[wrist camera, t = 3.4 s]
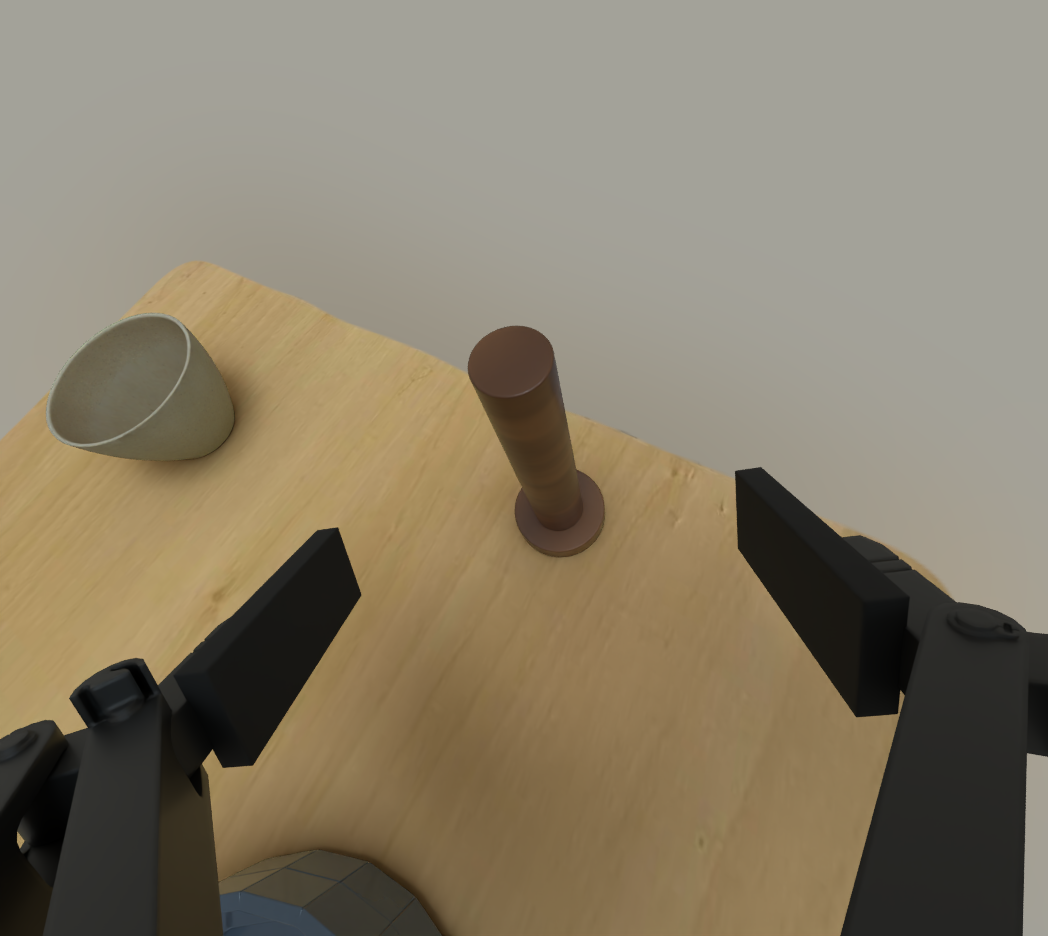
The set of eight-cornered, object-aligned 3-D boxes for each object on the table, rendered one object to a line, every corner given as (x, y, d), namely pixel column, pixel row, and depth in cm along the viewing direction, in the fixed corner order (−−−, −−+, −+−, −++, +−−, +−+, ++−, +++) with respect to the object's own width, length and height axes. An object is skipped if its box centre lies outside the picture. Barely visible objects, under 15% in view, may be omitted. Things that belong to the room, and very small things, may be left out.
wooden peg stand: (618, 491, 29) (617, 315, 15) (584, 571, 27) (550, 455, 14) (539, 463, 30) (476, 282, 17) (504, 537, 29) (402, 403, 15)
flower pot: (165, 383, 39) (77, 324, 33) (276, 366, 38) (206, 302, 32) (127, 496, 35) (17, 454, 29) (250, 483, 34) (164, 435, 27)
